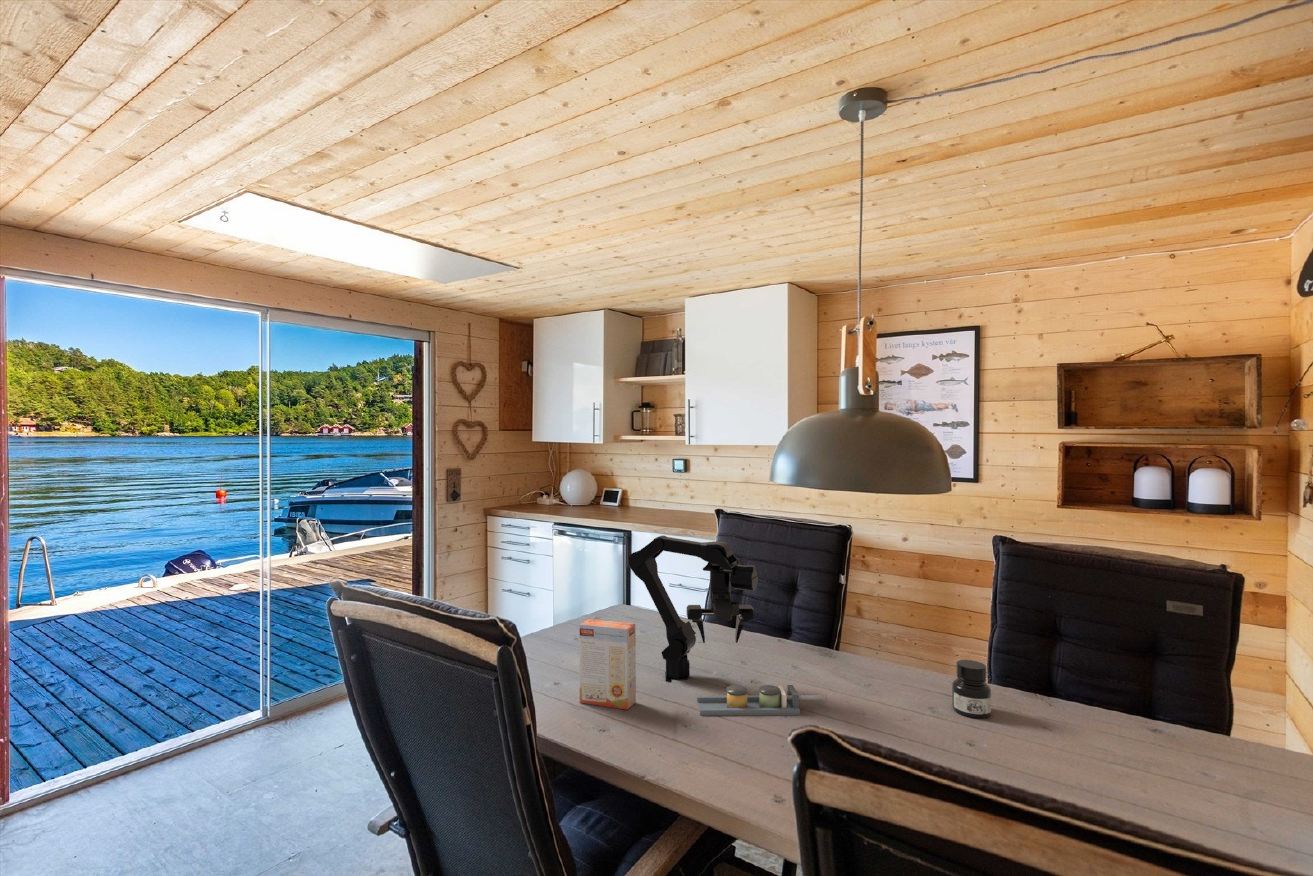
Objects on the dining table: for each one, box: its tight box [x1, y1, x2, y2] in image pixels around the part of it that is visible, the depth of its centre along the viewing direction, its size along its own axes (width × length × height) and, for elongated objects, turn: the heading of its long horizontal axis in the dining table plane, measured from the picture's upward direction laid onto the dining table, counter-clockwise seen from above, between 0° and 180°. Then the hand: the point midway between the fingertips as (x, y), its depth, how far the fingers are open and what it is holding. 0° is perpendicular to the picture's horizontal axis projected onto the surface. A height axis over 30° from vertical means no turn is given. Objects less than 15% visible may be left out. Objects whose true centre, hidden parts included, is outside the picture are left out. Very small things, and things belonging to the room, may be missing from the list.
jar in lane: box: [758, 684, 780, 708], centre depth 159 cm, size 5×5×5 cm
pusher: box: [777, 685, 828, 708], centre depth 159 cm, size 12×6×4 cm, turn 91°
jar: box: [726, 684, 749, 708], centre depth 159 cm, size 5×5×5 cm
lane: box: [696, 684, 801, 716], centre depth 159 cm, size 25×9×5 cm, turn 91°
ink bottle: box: [951, 659, 992, 719], centre depth 158 cm, size 10×9×12 cm
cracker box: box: [578, 618, 637, 711], centre depth 163 cm, size 14×6×21 cm, turn 69°
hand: (720, 642), depth 175 cm, fingers open, 9 cm apart
